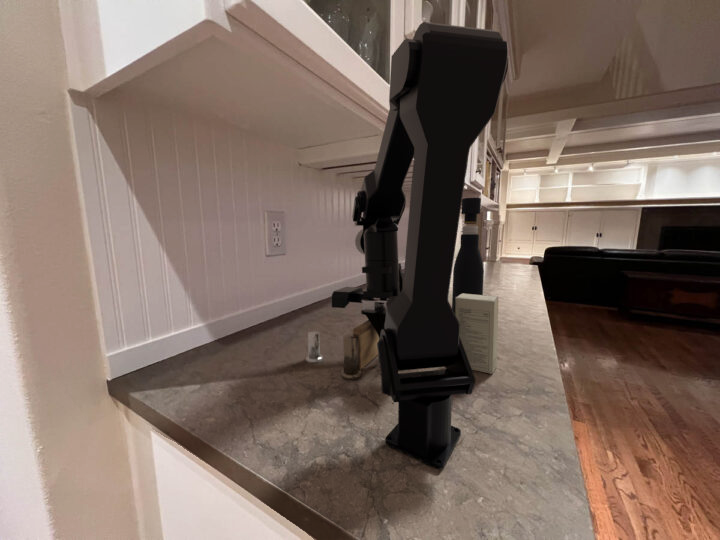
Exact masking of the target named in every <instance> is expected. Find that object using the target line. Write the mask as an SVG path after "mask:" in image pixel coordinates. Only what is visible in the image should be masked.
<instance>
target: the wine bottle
mask: <svg viewBox="0 0 720 540" xmlns="http://www.w3.org/2000/svg"><path fill="white" fill-rule="evenodd" d="M481 205H482V198H481V197H466V198H465V197H464V198H462V204H461V215H464V221H463V223H464V225H462V227H461V228H462V231H461V233H462V234H461V235H460V245H459V246H460V247H459V250H458V252H457V254H456V258H455V261H454V263H453V268H452V276H453V277H452V294H451V296H452V297H451V298H452V299H451V307H452V309H453V311H454V313H455V298H456V297H457V296H459V295H460V294H462V293H464V294H475V295H484V277H485V275H484V274H485V268H484V263H483V262H484V261H483V257H482V254H481V252H480V246H479V245H480V235H479V234H478V233H479V230H478V229H479V227H478V225H474V224H477V223H478V222H477V220H478V219H477V218H478V216H477V215H479V214H481V210H482V209H481V208H482V206H481ZM471 224H472V225H471Z"/></svg>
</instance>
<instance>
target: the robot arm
mask: <svg viewBox="0 0 720 540" xmlns="http://www.w3.org/2000/svg"><path fill="white" fill-rule="evenodd" d="M390 59H391V61H390V77H389V78H390V80H389V97H388V104H389V110H388V114H387V118H386V123H385V126H384V129H383V134H382V137H381V141H380V147H379V152H378V155H377V159H376V162H375V166H374V169H373V170H371V172H370V173H369V174H367V175H365V176H364V178H363V181H362V185H361V187H360V188H361V189H360V190H358V191H357V193H356V196H355V197H354V201H353V209H352V217H351V218H352V222H354V227H357V226H358V227H360V226H361V227H362V229H360V231H358V232H357V233H356V237H355V241H354V244H355V248H356V250H357V251H358V252H360V254H362V255H364V266H362V267H361V272H362V274H365V287H366V290H365V289H364V290H363V288H362V287H360V286H358V287H357V286H344V287H342V288H340V289H336V290H334V291H332V294H331V296H330V307H331V308H337V309H345V308H347V307H348V306H349V305H350V303H358V304H362V310H361V311H360V313H361V315H364V316H366V318H367V319H368V320H369V321H370V322H371V324H372V325H373V327H374V329H375V330H376V332H377V334H378V336H379V341H378V342H377V349H378V355H377V356H378V363H379V368H380V369H379V371H380V378H381V379H380V381H381V382H380V383H381V384H380V387H381V388H380V390H381V393H382V394H384V395H386V396H389V397H391V400H392V401H393V403H397V404H398V407H397V408H398V411H397V412H398V414H397V417H398V418H397V424H396V425H395V426H394V428H392V429H391V431H390V432H389V433H388V434H387V435H386V436H385V445H387V446H390V447H392V448H394V449H395V450H397V451H399V452H402V453H404V454H406V455H408V456H410V457H412V458H415V459H417V460H418V461H420V462H423V463H425V464H427V465H429V466H431V467H433V468H435V469H438V470H442V469H444V468H445V466H446V464H447V463H448V460H449V458H450V456H451V455H452V453H453V450H454V449H455V447H456V445H457V443H458V441H459V439H460V437H461V435H462V434H461V433H462V431H461V429H460V428H459V427H456V426H453V425H452V412H453V409H452V406H453V396H458V395H466V396H467V395H472V394H473V390H474V388H475V384H476V377H475V374H474V372H473V370H472V369H471V366H470V363H469V361H468V358H467V355H466V352H465V350H464V347H463V344H462V341H461V339H460V323H459V321H458V319H457V317H456V315H455V313H454V311H453V309H452V304H451V303H450V302H449V293H450V286H451V280H452V275H453V268H454V260H455V252H456V246H457V245H456V244H457V237H458V232H459V224H460V217H461V212H462V199H464V198H463V197H464V190H465V189H464V188H465V184H466V176H467V175H466V174H467V169H468V168H467V167H468V163H469V162H468V161H469V155H470V150H471V147H472V145H473V144H474V143H475V142H476V140H477V139H478V137H479V136H480V135H481V133H482V132H483V131H484V129H485V128H486V127H487V125H488V124H489V123H490V121H491V120H492V118H493V117H494V116H495V114H496V111H497V107H498V103H499V99H500V94H501V91H502V86H503V85H504V82H505V80H506V76H507V72H508V68H509V45H508V41H506V40H504V39H503V37H502V34H501V33H500V32H499V31H497V30H493V29H485V28H476V27H470V26H463V25H462V26H461V25H452V24H447V23H446V24H445V23H437V22H429V21H428V22H427V21H422V23H420V24H419V25H418V26H417V29H416V30H415V32H414V35H413V38H405V39H403V40H402V42H401V43H400V45H398V47H397V48H396V50H395V51H394V52H393V54H392V55H391V58H390ZM412 162H413V165H412ZM411 165H412V175H411V185H410V186H411V188H410V200H409V209H408V210H409V211H408V212H409V213H408V222H407V235H406V246H405V256H404V259H405V260H404V269H402V265H401V262H400V263H399V247H398V246H399V244H398V241H399V240H398V231H399V227H398V226H399V224H400V221H401V218H403V217H402V216H403V214H404V212H405V208H406V205H407V204H406V203H407V202H406V201H407V199H406V194H405V189H404V183H405V180H406V177H407V175H408V172H409V170H410V168H411ZM402 270H404V271H402ZM434 368H435V369H434ZM436 368H445V369H436ZM422 369H433V370H423V371H412V370H422ZM400 371H410V372H404V373H403V372H401V373H399V372H400ZM411 371H412V372H411Z"/></svg>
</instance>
